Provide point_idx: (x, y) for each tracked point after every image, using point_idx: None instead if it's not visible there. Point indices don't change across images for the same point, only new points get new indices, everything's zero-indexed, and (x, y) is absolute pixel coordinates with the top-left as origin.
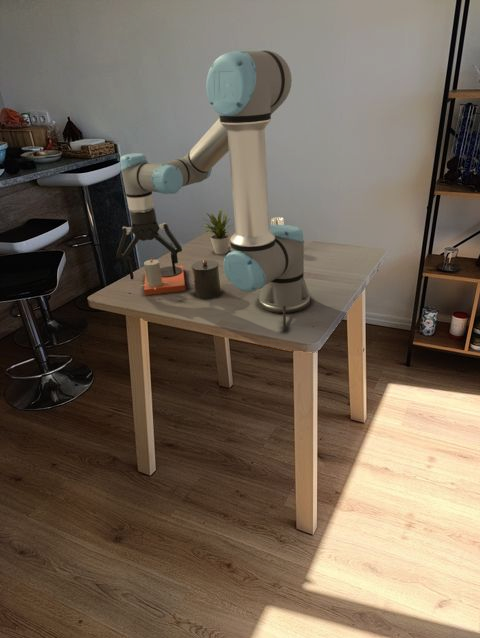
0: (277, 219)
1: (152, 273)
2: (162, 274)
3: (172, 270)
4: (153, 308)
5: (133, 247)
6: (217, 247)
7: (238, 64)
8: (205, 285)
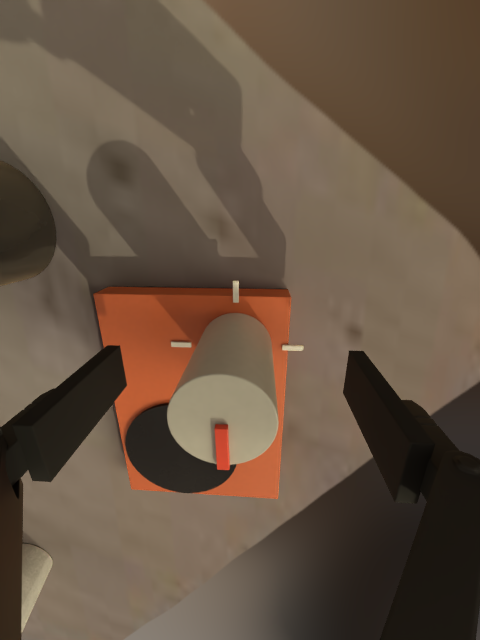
0: None
1: (229, 342)
2: None
3: (164, 454)
4: (250, 109)
5: (403, 588)
6: None
7: None
8: None
